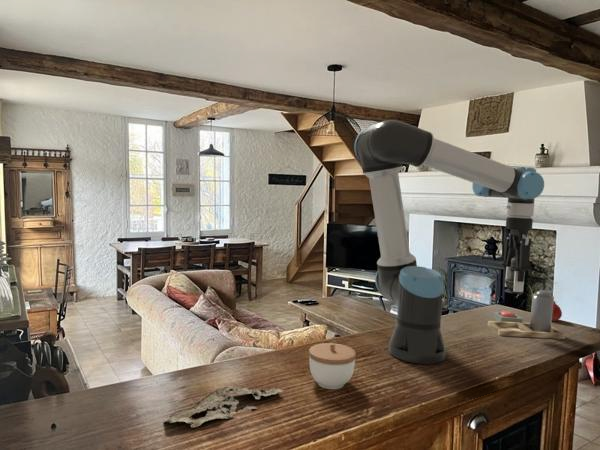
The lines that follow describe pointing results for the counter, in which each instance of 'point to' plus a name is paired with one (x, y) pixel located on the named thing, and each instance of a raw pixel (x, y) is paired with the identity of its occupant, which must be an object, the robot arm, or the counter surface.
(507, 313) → the button
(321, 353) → the lidded jar
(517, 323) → the tray
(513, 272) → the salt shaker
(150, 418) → the counter surface
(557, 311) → the onion
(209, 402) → the driftwood
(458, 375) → the counter surface
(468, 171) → the robot arm
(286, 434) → the counter surface
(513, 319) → the grey-green square box
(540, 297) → the pepper pot
